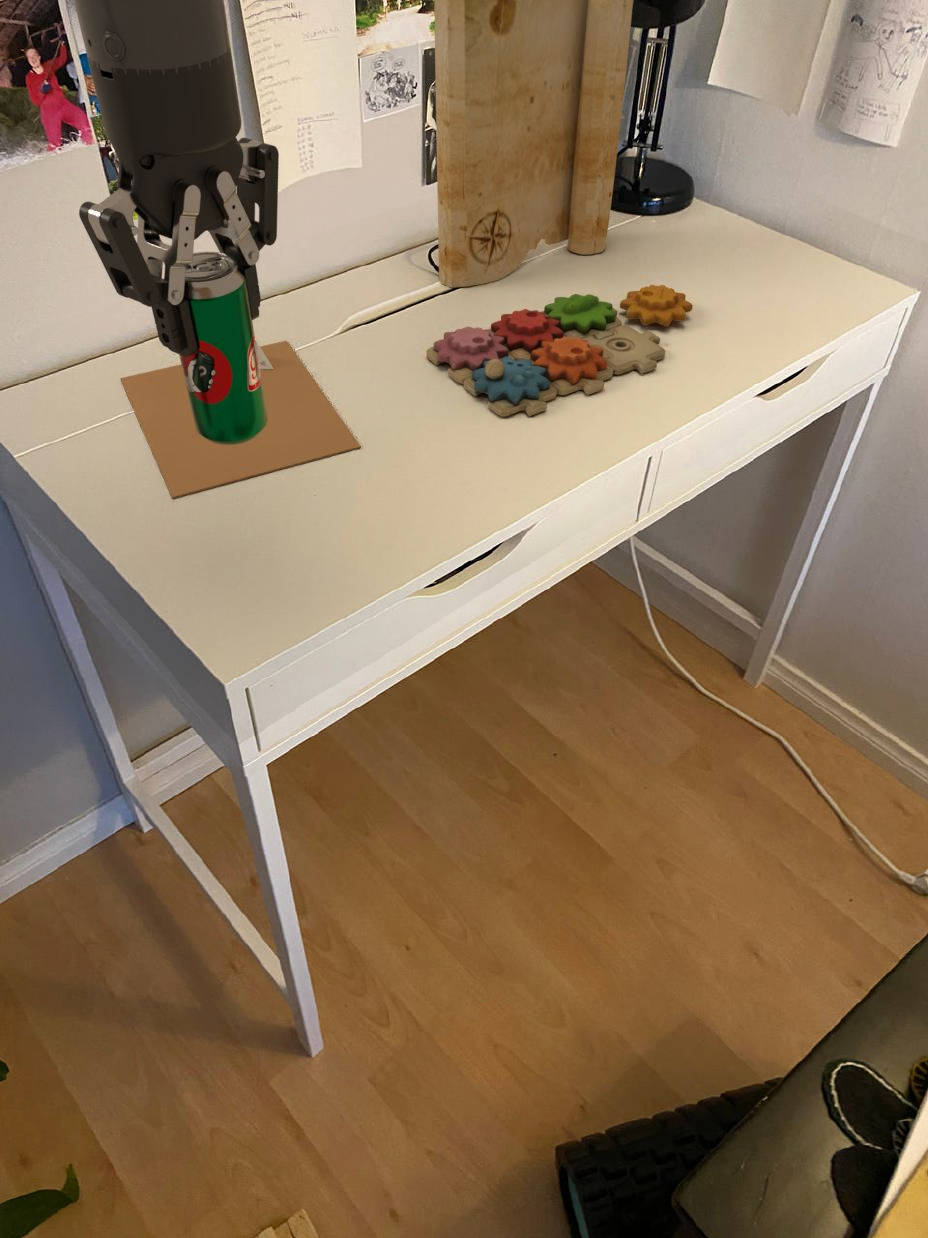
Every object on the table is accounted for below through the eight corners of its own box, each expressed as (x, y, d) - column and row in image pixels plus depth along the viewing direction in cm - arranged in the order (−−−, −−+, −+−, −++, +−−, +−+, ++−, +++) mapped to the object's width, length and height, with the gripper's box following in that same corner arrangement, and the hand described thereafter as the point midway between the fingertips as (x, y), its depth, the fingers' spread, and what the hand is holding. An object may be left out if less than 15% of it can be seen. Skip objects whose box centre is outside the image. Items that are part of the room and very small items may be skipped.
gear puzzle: (641, 283, 114) (645, 250, 112) (737, 340, 105) (745, 305, 102) (419, 356, 102) (418, 320, 99) (505, 427, 93) (507, 391, 90)
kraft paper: (172, 498, 85) (171, 497, 85) (120, 379, 99) (120, 377, 99) (360, 447, 90) (360, 446, 90) (286, 341, 104) (286, 340, 104)
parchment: (449, 292, 113) (447, -5, 91) (427, 270, 117) (420, -19, 95) (616, 253, 120) (650, -30, 99) (590, 234, 124) (617, -42, 103)
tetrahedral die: (261, 383, 100) (264, 362, 97) (240, 368, 100) (243, 346, 98) (282, 369, 102) (286, 347, 99) (262, 354, 102) (265, 332, 100)
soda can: (276, 440, 67) (250, 276, 59) (203, 455, 66) (167, 289, 57) (260, 403, 70) (233, 243, 62) (191, 416, 69) (154, 255, 61)
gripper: (205, 3, 57) (248, 278, 69) (-1, 61, 48) (89, 363, 60) (300, 24, 54) (328, 307, 66) (99, 89, 45) (173, 400, 57)
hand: (214, 332), depth 63 cm, fingers closed on soda can, 5 cm apart
